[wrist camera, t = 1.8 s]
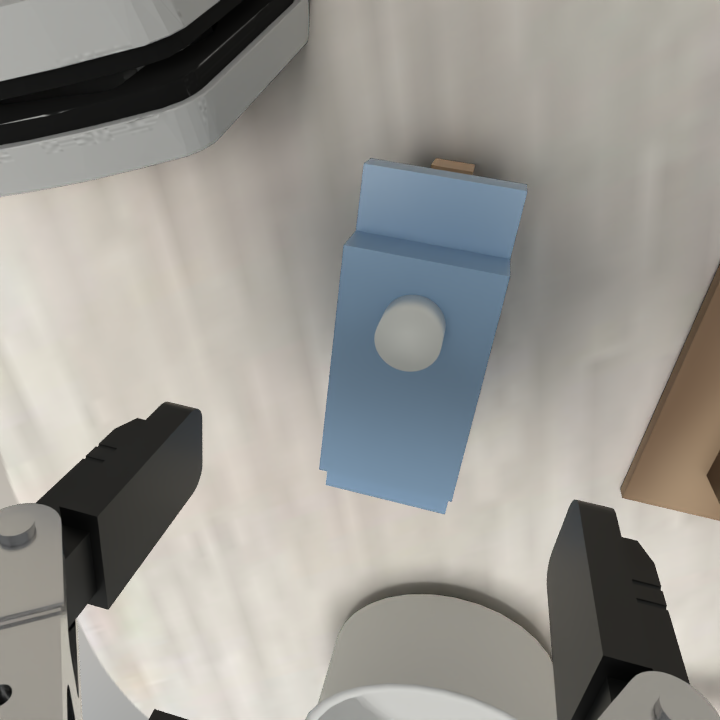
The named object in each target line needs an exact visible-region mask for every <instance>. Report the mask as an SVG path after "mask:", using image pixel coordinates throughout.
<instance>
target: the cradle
mask: <svg viewBox="0 0 720 720" xmlns="http://www.w3.org/2000/svg"><path fill="white" fill-rule="evenodd" d="M620 490H621V494H622V498H625V499H629V500H633V501H638V502H642V503H646V504H650V505H655V506H659V507H663V508H668V509H672V510H676V511H680V512H685V513H689V514H693V515H697V516H702V517H706V518H710V519H714V520H719V521H720V265H719V267H718V269H717V272H716V274H715V276H714V278H713V281H712V283H711V285H710V288H709V290H708V292H707V294H706V297H705V299H704V301H703V303H702V306H701V308H700V310H699V312H698V315H697V317H696V319H695V321H694V324H693V326H692V328H691V331H690V333H689V335H688V337H687V340H686V342H685V344H684V346H683V349H682V351H681V353H680V355H679V358H678V360H677V362H676V365H675V367H674V369H673V371H672V374H671V376H670V378H669V380H668V383H667V385H666V387H665V389H664V392H663V394H662V396H661V398H660V401H659V403H658V405H657V408H656V410H655V412H654V414H653V417H652V419H651V421H650V423H649V426H648V428H647V430H646V432H645V435H644V437H643V439H642V441H641V444H640V446H639V448H638V451H637V453H636V455H635V457H634V460H633V462H632V464H631V466H630V469H629V471H628V473H627V475H626V478H625V480H624V482H623V485H622V487H621V489H620Z"/></svg>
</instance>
